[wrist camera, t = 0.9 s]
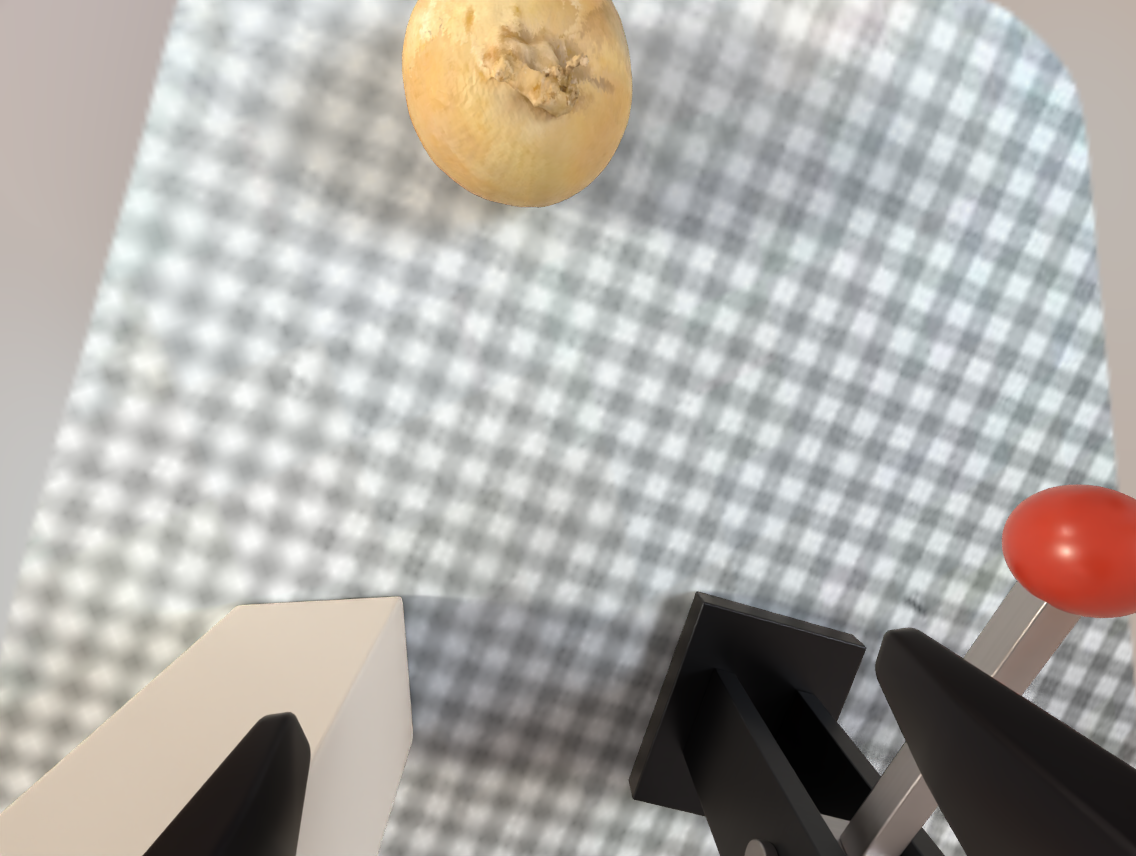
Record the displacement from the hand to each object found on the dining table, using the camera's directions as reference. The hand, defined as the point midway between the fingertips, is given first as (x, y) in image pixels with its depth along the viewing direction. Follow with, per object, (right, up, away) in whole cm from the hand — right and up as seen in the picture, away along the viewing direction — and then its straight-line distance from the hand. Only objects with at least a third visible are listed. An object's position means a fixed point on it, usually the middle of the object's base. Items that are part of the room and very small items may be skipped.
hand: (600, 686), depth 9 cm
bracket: (+8, -9, +18) cm, 22 cm away
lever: (+10, -4, +9) cm, 14 cm away
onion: (-2, +16, +14) cm, 22 cm away
